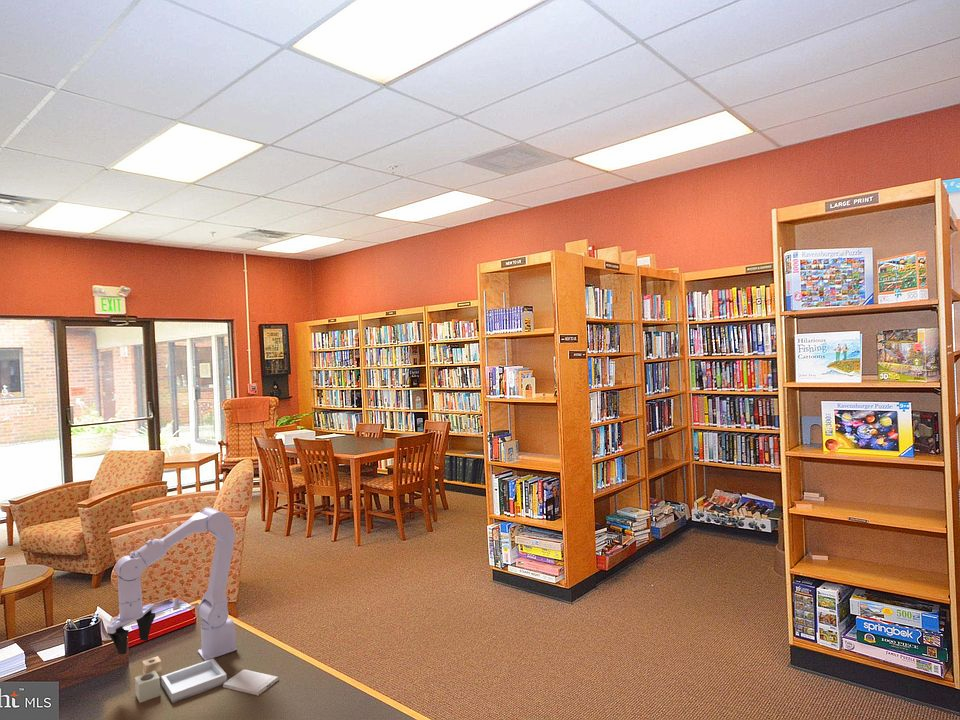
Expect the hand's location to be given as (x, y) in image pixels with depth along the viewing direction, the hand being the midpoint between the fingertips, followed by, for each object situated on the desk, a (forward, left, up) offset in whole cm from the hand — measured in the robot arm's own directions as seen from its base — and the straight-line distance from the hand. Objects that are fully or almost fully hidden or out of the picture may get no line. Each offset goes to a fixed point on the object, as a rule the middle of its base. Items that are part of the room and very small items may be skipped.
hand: (133, 646), depth 173 cm
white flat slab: (-24, +24, -11) cm, 36 cm away
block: (-4, +1, -10) cm, 11 cm away
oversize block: (-1, +10, -10) cm, 15 cm away
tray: (-12, +13, -10) cm, 21 cm away
